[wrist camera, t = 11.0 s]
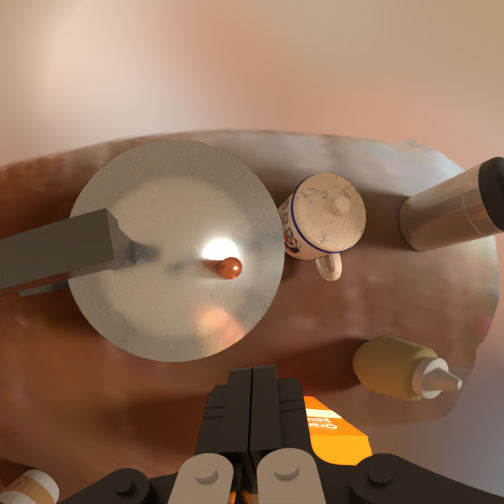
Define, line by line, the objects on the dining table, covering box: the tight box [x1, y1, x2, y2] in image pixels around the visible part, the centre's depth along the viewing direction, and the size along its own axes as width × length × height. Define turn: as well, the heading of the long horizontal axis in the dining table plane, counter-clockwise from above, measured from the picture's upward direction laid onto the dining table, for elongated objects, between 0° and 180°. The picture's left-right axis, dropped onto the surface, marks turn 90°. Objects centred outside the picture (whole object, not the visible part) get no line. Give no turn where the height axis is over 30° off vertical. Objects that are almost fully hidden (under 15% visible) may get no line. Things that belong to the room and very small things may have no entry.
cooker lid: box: [0, 140, 285, 362], centre depth 20 cm, size 26×19×9 cm
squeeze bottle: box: [352, 335, 462, 401], centre depth 31 cm, size 8×8×18 cm
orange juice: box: [304, 396, 372, 465], centre depth 27 cm, size 8×9×20 cm
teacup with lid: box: [277, 173, 366, 281], centre depth 35 cm, size 12×9×12 cm
